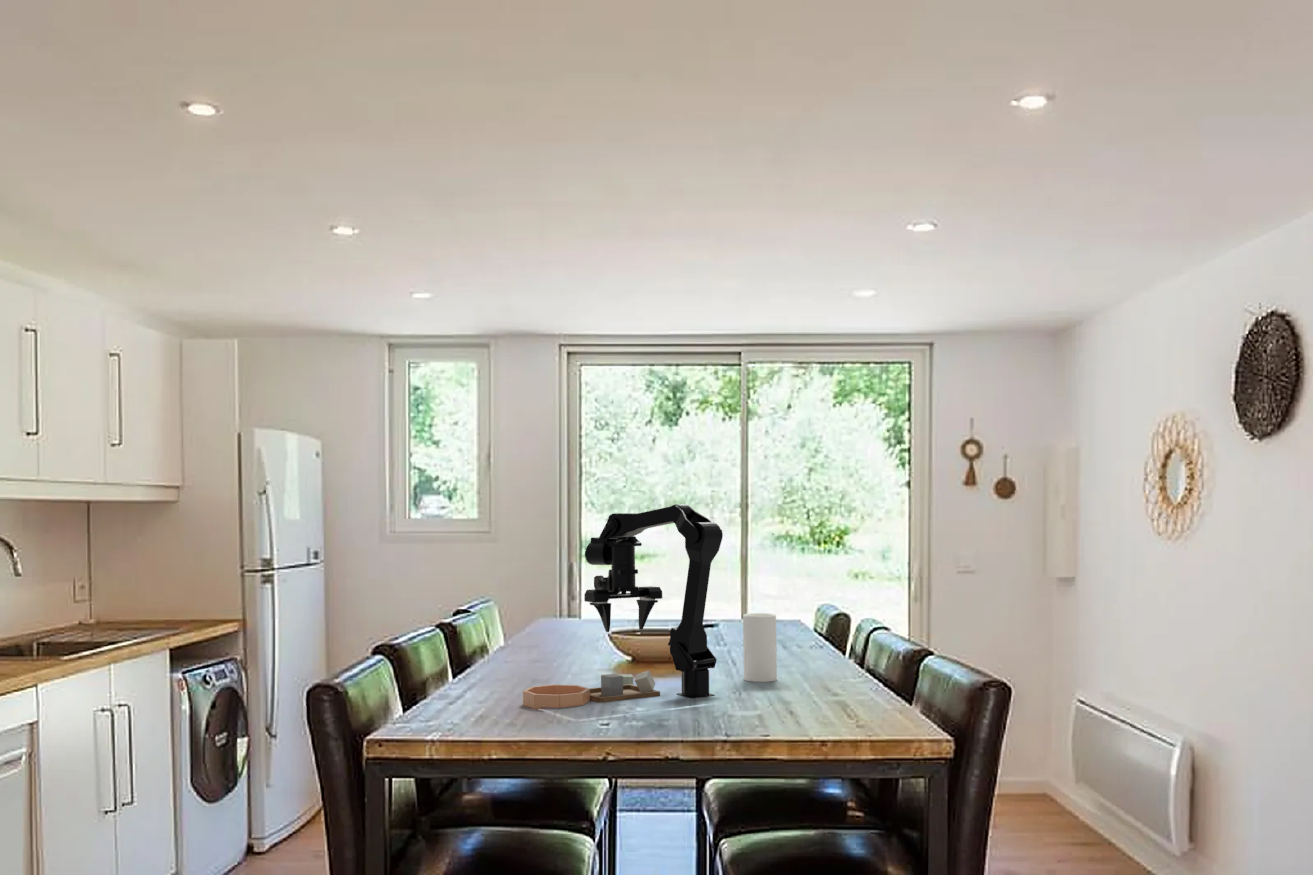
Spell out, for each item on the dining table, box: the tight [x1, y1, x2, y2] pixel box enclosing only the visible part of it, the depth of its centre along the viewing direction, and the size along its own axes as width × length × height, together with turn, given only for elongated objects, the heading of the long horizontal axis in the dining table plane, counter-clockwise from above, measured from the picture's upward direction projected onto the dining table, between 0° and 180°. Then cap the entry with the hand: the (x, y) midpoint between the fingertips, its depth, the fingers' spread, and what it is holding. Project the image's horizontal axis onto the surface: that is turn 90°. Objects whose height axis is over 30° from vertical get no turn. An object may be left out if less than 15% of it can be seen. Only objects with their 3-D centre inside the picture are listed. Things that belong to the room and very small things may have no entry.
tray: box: [589, 684, 661, 703], centre depth 242 cm, size 13×16×1 cm
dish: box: [522, 684, 591, 710], centre depth 234 cm, size 14×14×3 cm
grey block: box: [600, 673, 623, 697], centre depth 241 cm, size 4×3×4 cm
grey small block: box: [634, 669, 656, 693], centre depth 243 cm, size 4×3×3 cm
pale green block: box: [620, 673, 634, 685], centre depth 256 cm, size 3×4×3 cm
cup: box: [742, 612, 778, 683], centre depth 267 cm, size 8×8×16 cm
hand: (624, 630), depth 256 cm, fingers open, 9 cm apart
